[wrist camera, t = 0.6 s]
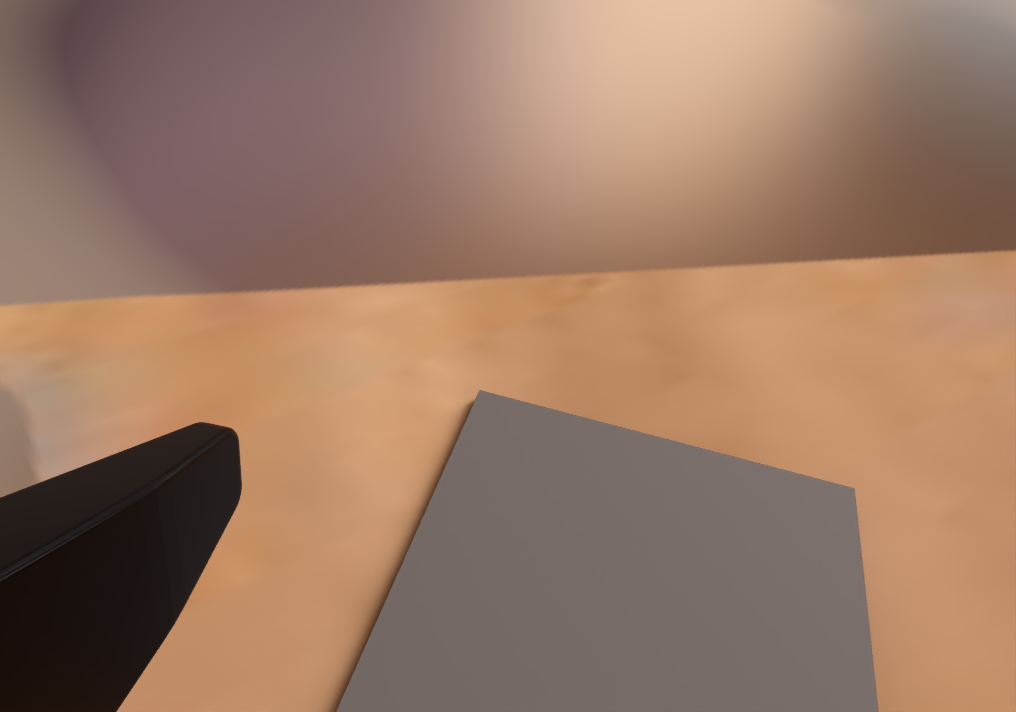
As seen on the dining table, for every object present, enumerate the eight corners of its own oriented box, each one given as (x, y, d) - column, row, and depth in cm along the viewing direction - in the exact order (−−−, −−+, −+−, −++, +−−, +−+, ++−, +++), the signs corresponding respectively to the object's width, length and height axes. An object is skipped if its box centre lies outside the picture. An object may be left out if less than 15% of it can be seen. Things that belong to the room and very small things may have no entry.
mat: (897, 999, 18) (909, 996, 17) (308, 786, 20) (306, 779, 20) (848, 497, 29) (854, 488, 29) (478, 399, 31) (479, 390, 31)
